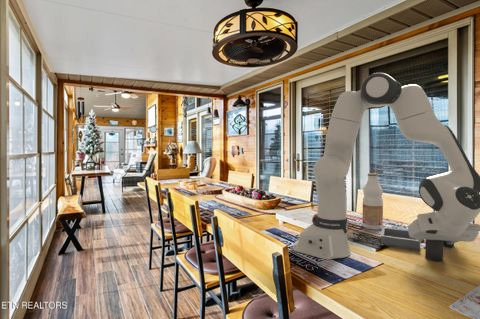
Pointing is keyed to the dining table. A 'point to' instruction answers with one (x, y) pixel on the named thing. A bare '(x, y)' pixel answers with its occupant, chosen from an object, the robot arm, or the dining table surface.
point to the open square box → (398, 239)
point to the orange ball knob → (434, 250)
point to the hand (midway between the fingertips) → (434, 241)
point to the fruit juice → (373, 203)
